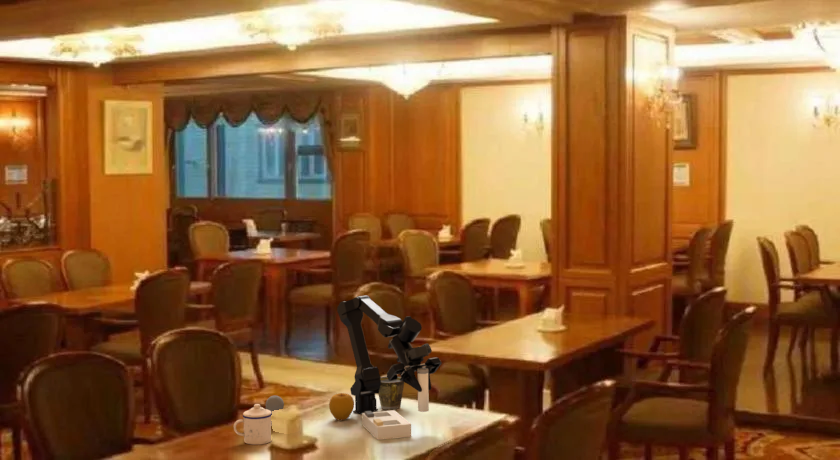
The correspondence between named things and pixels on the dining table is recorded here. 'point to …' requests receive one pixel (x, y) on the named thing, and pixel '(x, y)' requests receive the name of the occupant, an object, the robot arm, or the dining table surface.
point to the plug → (423, 390)
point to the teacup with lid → (256, 425)
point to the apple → (341, 406)
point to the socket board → (386, 424)
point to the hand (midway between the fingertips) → (425, 390)
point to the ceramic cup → (390, 393)
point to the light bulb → (274, 403)
